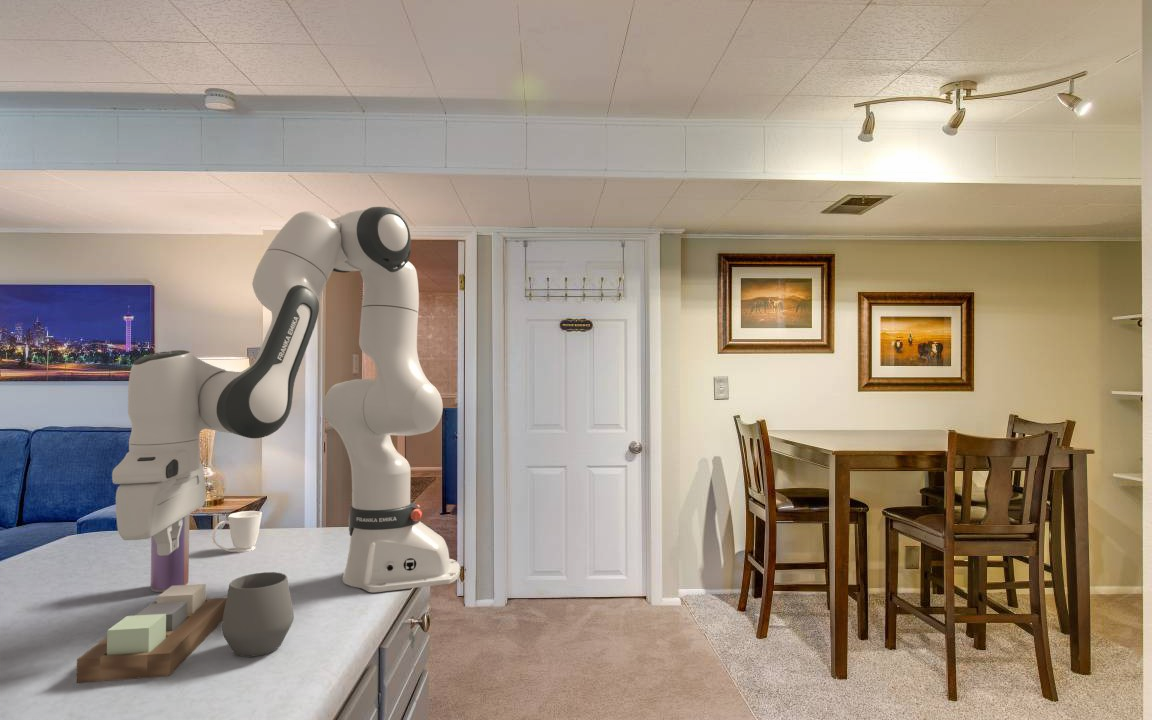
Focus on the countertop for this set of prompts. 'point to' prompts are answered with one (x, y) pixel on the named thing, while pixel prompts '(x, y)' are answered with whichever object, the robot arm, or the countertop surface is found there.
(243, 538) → the cup
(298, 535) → the countertop surface
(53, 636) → the countertop surface
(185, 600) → the ivory key
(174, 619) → the graphite key
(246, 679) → the countertop surface
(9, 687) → the countertop surface
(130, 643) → the sage key
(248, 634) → the cup
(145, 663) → the wooden tray
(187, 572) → the beverage can
